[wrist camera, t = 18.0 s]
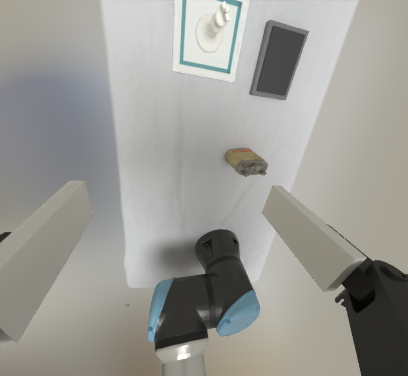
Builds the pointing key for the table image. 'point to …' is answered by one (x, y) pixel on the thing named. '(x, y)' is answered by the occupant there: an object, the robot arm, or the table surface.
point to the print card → (188, 48)
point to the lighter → (246, 162)
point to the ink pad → (278, 60)
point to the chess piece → (212, 29)
